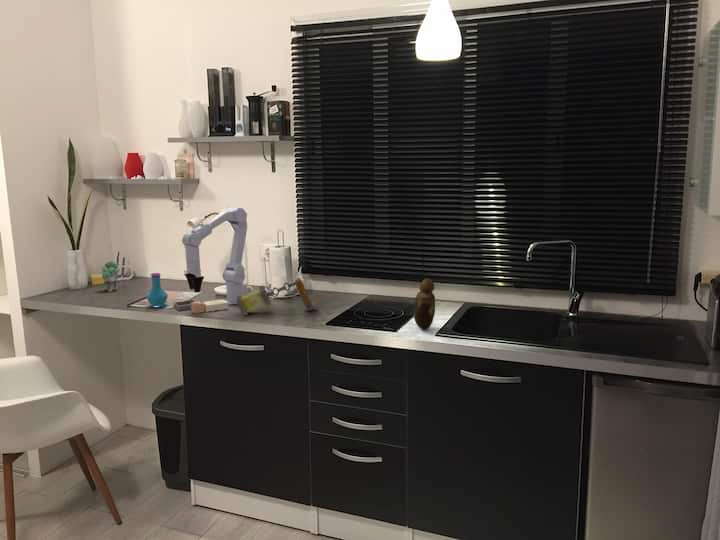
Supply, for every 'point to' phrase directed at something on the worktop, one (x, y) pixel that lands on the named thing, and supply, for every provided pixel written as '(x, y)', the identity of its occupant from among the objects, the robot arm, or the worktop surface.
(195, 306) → the stub
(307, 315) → the worktop surface
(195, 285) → the robot arm
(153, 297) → the perfume bottle
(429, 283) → the sculpture
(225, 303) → the block
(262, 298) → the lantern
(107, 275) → the toy
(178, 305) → the tray
